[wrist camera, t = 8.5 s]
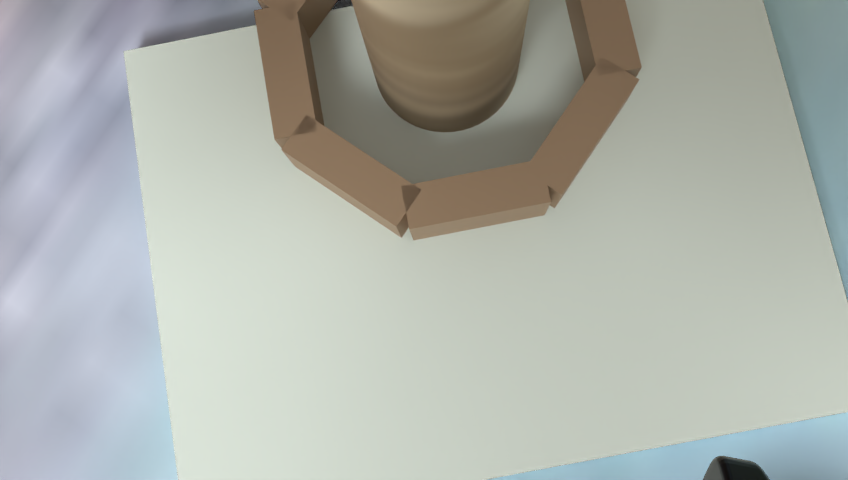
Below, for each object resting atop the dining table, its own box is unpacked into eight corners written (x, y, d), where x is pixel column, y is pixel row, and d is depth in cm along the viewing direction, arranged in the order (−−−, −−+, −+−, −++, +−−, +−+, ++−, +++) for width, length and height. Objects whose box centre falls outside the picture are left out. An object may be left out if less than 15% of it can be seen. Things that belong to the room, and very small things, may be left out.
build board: (194, 530, 19) (160, 550, 17) (123, -18, 21) (86, -60, 19) (864, 405, 18) (914, 409, 16) (713, -136, 21) (740, -193, 19)
